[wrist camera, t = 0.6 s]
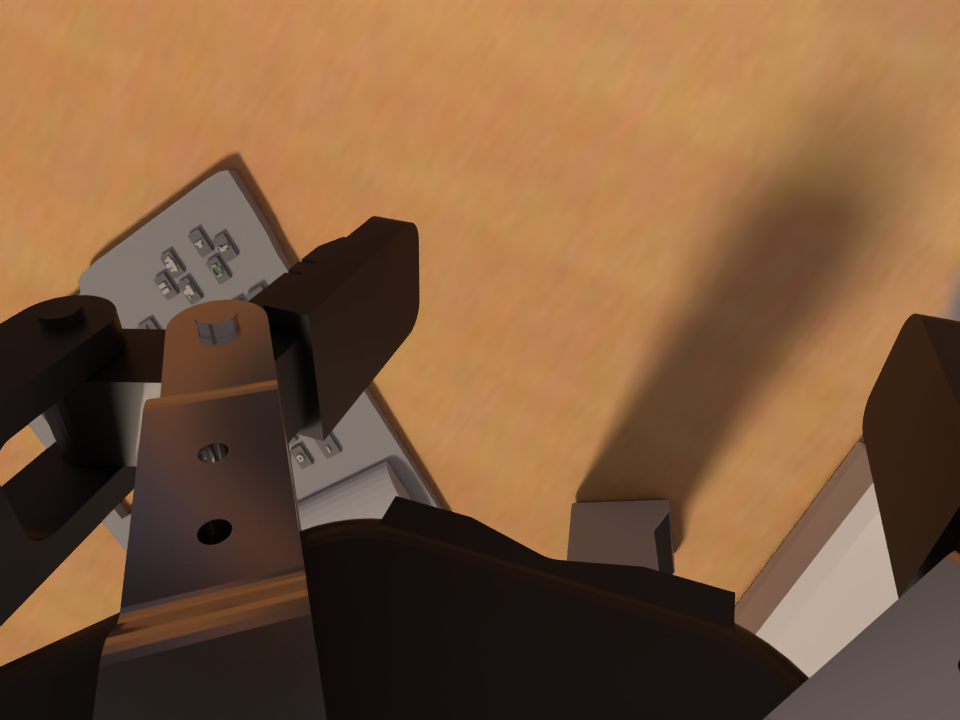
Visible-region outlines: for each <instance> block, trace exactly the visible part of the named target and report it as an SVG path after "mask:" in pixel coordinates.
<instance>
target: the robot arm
mask: <svg viewBox="0 0 960 720" xmlns="http://www.w3.org/2000/svg"><path fill="white" fill-rule="evenodd" d="M418 310H419V236H418V230H417V227H416V225H415V224H414V223H411V222H405V221H400V220H394V219H388V218H383V217H377V216H373V217H371V218H370V219H368V220H367V221H366V222H365V223H364V224H362V225H361V226H360V227H359V228H357V229H356V230H355V231H354V232H352V233H351V234H350V235H349V236H348V237H342V238H339V239H336V240H334V241H331V242H328V243H326V244H323V245H321V246H318V247H317V248H316V249H314V250H313V251H312V252H310V253H309V254H308V255H307V256H305V257H304V258H303V259H302V262H298V263H296V264H295V265H294V266H293V267H291V268H290V269H289V270H288V273H284V274H282V275H281V276H280V277H278V278H277V279H276V280H275V281H273V282H272V283H271V284H270V285H268V286H267V287H266V288H264V289H263V290H262V291H261V292H259V293H258V294H257V295H255V296H254V297H253V298H252V299H250V300H249V301H248V302H247V301H242V300H216V301H209V302H205V303H201V304H198V305H195V306H192V307H190V308H187V309H185V310H183V311H182V312H180V313H178V314H177V315H176V316H174V317H173V318H172V319H171V320H170V321H169V323H168V325H167V327H166V329H122V326H121V322H120V319H119V316H118V313H117V310H116V307H115V305H114V304H113V303H112V302H111V301H110V300H108V299H105V298H102V297H98V296H92V295H73V296H64V297H59V298H54V299H50V300H47V301H44V302H41V303H38V304H35V305H33V306H31V307H28V308H27V309H25V310H23V311H21V312H19V313H18V314H16V315H14V316H13V317H11V318H9V319H8V320H6V321H4V322H3V323H1V324H0V450H1V448H2V447H3V445H4V444H5V443H6V442H7V441H8V440H9V439H10V438H11V437H13V436H14V435H15V434H16V433H18V432H19V431H20V430H22V429H23V428H24V427H25V426H27V425H28V424H29V423H31V422H32V421H33V420H34V419H36V418H37V417H38V416H40V415H41V414H42V413H44V415H45V417H46V420H47V422H48V424H49V427H50V429H51V431H52V433H53V436H54V438H55V440H56V442H54V443H53V444H52V445H51V446H50V447H48V448H47V449H46V450H45V451H44V452H42V453H41V454H40V455H39V456H38V457H36V458H35V459H34V460H33V461H32V462H30V463H29V464H28V465H27V466H26V467H24V468H23V469H22V470H21V471H20V472H19V473H17V474H16V475H15V476H14V477H13V478H11V479H10V480H9V481H8V482H7V483H5V484H4V485H3V486H2V487H1V486H0V626H1V625H2V624H3V623H4V622H5V621H6V620H7V619H8V618H9V617H10V616H11V615H12V614H13V613H14V612H15V611H16V610H17V609H18V608H19V607H20V606H21V605H22V604H23V603H24V602H25V601H26V599H27V598H28V597H29V596H30V595H31V594H32V593H33V592H34V591H35V590H36V589H37V588H38V587H39V586H40V585H41V584H42V583H43V582H44V581H45V580H46V579H47V578H48V577H49V576H50V575H51V574H52V573H53V572H54V571H55V570H56V568H57V567H58V566H59V565H60V564H61V563H62V562H63V561H64V560H65V559H66V558H67V557H68V556H69V555H70V554H71V553H72V552H73V551H74V550H75V549H76V548H77V547H78V546H79V545H80V544H81V543H82V542H83V541H84V540H85V538H86V537H87V536H88V535H89V534H90V533H91V532H92V531H93V530H94V529H95V528H96V527H97V526H98V525H99V524H100V523H101V522H102V521H103V520H104V519H105V518H106V517H107V516H108V515H109V514H110V513H111V512H112V511H113V510H114V508H115V507H116V506H117V505H118V504H119V503H120V502H121V501H122V500H123V499H124V498H125V497H126V496H127V495H128V494H129V493H130V492H131V491H132V490H133V489H134V493H133V502H132V511H131V520H130V529H129V538H128V546H127V555H126V564H125V573H124V582H123V591H122V600H121V608H120V612H119V613H117V614H115V615H113V616H111V617H108V618H106V619H104V620H102V621H100V622H97V623H95V624H93V625H91V626H89V627H86V628H84V629H82V630H80V631H78V632H75V633H73V634H71V635H69V636H67V637H64V638H62V639H60V640H58V641H56V642H53V643H51V644H49V645H47V646H45V647H43V648H40V649H38V650H36V651H34V652H32V653H29V654H27V655H25V656H23V657H21V658H18V659H16V660H14V661H12V662H10V663H7V664H5V665H3V666H1V667H0V720H960V321H955V320H949V319H943V318H938V317H932V316H927V315H921V314H913V315H911V316H910V317H909V318H908V319H907V320H906V322H905V323H904V325H903V327H902V328H901V330H900V332H899V335H898V337H897V339H896V341H895V343H894V345H893V347H892V349H891V351H890V354H889V356H888V358H887V360H886V362H885V364H884V366H883V368H882V370H881V372H880V375H879V377H878V379H877V381H876V383H875V385H874V387H873V389H872V391H871V394H870V396H869V398H868V401H867V404H866V407H865V412H864V417H863V427H862V429H863V438H864V442H865V447H866V452H867V456H868V461H869V465H870V470H871V475H872V479H873V484H874V489H875V493H876V498H877V502H878V507H879V512H880V516H881V521H882V526H883V530H884V535H885V539H886V544H887V549H888V553H889V558H890V563H891V567H892V572H893V576H894V581H895V586H896V590H897V595H898V600H897V601H896V602H894V603H893V604H892V605H891V606H890V607H889V608H888V609H887V610H885V611H884V612H883V613H882V614H881V615H880V616H879V617H878V618H876V619H875V620H874V621H873V622H872V623H871V624H870V625H869V626H867V627H866V628H865V629H864V630H863V631H862V632H861V633H860V634H858V635H857V636H856V637H855V638H854V639H853V640H852V641H851V642H849V643H848V644H847V645H846V646H845V647H844V648H843V649H842V650H840V651H839V652H838V653H837V654H836V655H835V656H834V657H833V658H832V659H830V660H829V661H828V662H827V663H826V664H825V665H824V666H823V667H821V668H820V669H819V670H818V671H817V672H816V673H815V674H814V675H812V676H811V677H810V678H809V677H808V676H807V675H806V674H805V673H804V672H802V671H801V670H800V669H799V668H798V667H797V666H796V665H795V664H794V663H793V662H792V661H791V660H789V659H788V658H787V657H786V656H784V655H783V654H782V653H780V652H779V651H778V650H777V649H775V648H774V647H773V646H772V645H770V644H769V643H767V642H766V641H764V640H763V639H761V638H760V637H758V636H757V635H755V634H753V633H752V632H750V631H749V630H747V629H745V628H744V627H742V626H740V625H738V624H736V623H734V618H735V593H734V592H731V591H727V590H724V589H720V588H717V587H713V586H710V585H706V584H703V583H699V582H696V581H692V580H689V579H685V578H682V577H678V576H675V575H671V574H668V573H664V572H661V571H657V570H654V569H650V568H647V567H643V566H630V565H617V564H604V563H591V562H578V561H565V560H555V559H551V558H547V557H545V556H543V555H540V554H539V553H537V552H535V551H533V550H531V549H529V548H527V547H526V546H524V545H522V544H520V543H518V542H516V541H514V540H513V539H511V538H509V537H507V536H505V535H503V534H501V533H500V532H498V531H496V530H494V529H492V528H490V527H488V526H487V525H485V524H483V523H481V522H479V521H477V520H475V519H474V518H472V517H468V516H465V515H461V514H458V513H454V512H451V511H447V510H444V509H440V508H437V507H433V506H430V505H426V504H423V503H419V502H416V501H412V500H409V499H405V498H402V497H398V496H395V498H394V499H393V501H392V503H391V504H390V506H389V508H388V509H387V511H386V513H385V514H384V516H383V518H382V519H378V518H363V519H349V520H341V521H334V522H330V523H325V524H321V525H317V526H313V527H310V528H307V529H304V530H302V527H301V521H300V514H299V508H298V501H297V495H296V488H295V482H294V475H293V469H292V462H291V456H290V450H289V444H288V443H289V442H290V441H291V440H292V439H293V437H294V436H295V435H296V434H299V435H303V436H306V437H310V438H314V439H317V440H321V441H324V440H325V439H326V438H327V437H328V435H329V434H330V433H331V432H332V430H333V429H334V428H335V427H336V425H337V424H338V423H339V422H340V420H341V419H342V418H343V417H344V415H345V414H346V413H347V412H348V410H349V409H350V408H351V407H352V405H353V404H354V403H355V402H356V400H357V399H358V398H359V397H360V395H361V394H362V393H363V392H364V390H365V389H366V388H367V387H368V385H369V384H370V383H371V382H372V380H373V379H374V378H375V377H376V375H377V374H378V373H379V372H380V370H381V369H382V368H383V367H384V365H385V364H386V363H387V362H388V360H389V359H390V358H391V357H392V355H393V354H394V353H395V352H396V350H397V349H398V348H399V347H400V345H401V344H402V343H403V342H404V340H405V339H406V338H407V337H408V335H409V334H410V333H411V331H412V329H413V327H414V325H415V322H416V319H417V315H418Z"/></svg>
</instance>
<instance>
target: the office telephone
mask: <svg viewBox="0 0 960 720" xmlns="http://www.w3.org/2000/svg"><path fill="white" fill-rule="evenodd" d="M291 267H292V265H291V264H290V262H289V260H288V259H287V257H286V255H285V254H284V252H283V250H282V248H281V246H280V245H279V243H278V241H277V238H276V236H275V234H274V232H273V230H272V228H271V226H270V225H269V223H268V221H267V220H266V218H265V216H264V215H263V213H262V211H261V210H260V208H259V207H258V205H257V203H256V202H255V200H254V198H253V197H252V195H251V194H250V192H249V190H248V189H247V187H246V186H245V184H244V182H243V181H242V179H241V177H240V176H239V174H238V173H237V171H236V169H232V170H224V171H220V172H218V173H216V174H214V175H213V176H211V177H209V178H208V179H206V180H205V181H203V182H202V183H201V184H199V185H198V186H197V187H195V188H194V189H193V190H191V191H190V192H189V193H187V194H186V195H185V196H183V197H182V198H180V199H179V200H178V201H176V202H175V203H174V204H172V205H171V206H170V207H168V208H167V209H166V210H164V211H163V212H162V213H160V214H159V215H158V216H156V217H155V218H153V219H152V220H151V221H149V222H148V223H147V224H145V225H144V226H143V227H141V228H140V229H139V230H137V231H136V232H135V233H133V234H132V235H131V236H129V237H128V238H126V239H125V240H124V241H122V242H121V243H120V244H118V245H117V246H116V247H114V248H113V249H112V250H110V251H109V252H108V253H106V254H105V255H104V256H102V257H101V258H99V259H98V260H97V261H96V262H94V263H93V264H92V265H91V266H90V267H89V268H88V269H87V270H86V271H85V272H83V273H82V275H81V276H80V278H79V288H80V294H79V295H92V296H98V297H102V298H105V299H108V300H110V301H111V302H112V303H113V304H114V305H115V307H116V310H117V313H118V316H119V319H120V322H121V326H122V329H166V327H167V325H168V323H169V321H170V320H171V319H172V318H173V317H174V316H176V315H177V314H178V313H180V312H182V311H183V310H185V309H187V308H190V307H192V306H195V305H198V304H201V303H205V302H209V301H216V300H242V301H247V302H248V301H249V300H250V299H252V298H253V297H254V296H255V295H257V294H258V293H259V292H261V291H262V290H263V289H264V288H266V287H267V286H268V285H270V284H271V283H272V282H273V281H275V280H276V279H277V278H278V277H280V276H281V275H282V274H284V273H288V270H289V269H290V268H291ZM29 426H30V427H31V428H32V430H33V431H34V432H35V434H36V435H37V437H38V438H39V439H40V441H41V442H42V443H43V445H44V446H45V447H46V449H47V448H48V447H50V446H51V445H52V444H53V443H54V442H56V440H55V438H54V436H53V433H52V431H51V429H50V427H49V424H48V422H47V420H46V417H45V415H44V413H42V414H41V415H40V416H38V417H37V418H36V419H34V420H33V421H32V422H31V423H29ZM288 444H289V450H290V456H291V462H292V469H293V475H294V482H295V488H296V495H297V501H298V508H299V514H300V521H301V527H302V530H304V529H307V528H310V527H313V526H317V525H321V524H325V523H330V522H334V521H341V520H349V519H363V518H378V519H382V518H383V516H384V514H385V513H386V511H387V509H388V508H389V506H390V504H391V503H392V501H393V499H394V498H395V496H398V497H402V498H405V499H409V500H412V501H416V502H419V503H423V504H426V505H430V506H433V507H437V508H440V509H443V507H442V506H441V504H440V502H439V501H438V499H437V498H436V496H435V494H434V493H433V491H432V489H431V488H430V486H429V485H428V483H427V481H426V480H425V478H424V477H423V475H422V473H421V472H420V470H419V469H418V467H417V465H416V464H415V462H414V461H413V459H412V457H411V456H410V454H409V453H408V451H407V449H406V448H405V446H404V445H403V443H402V441H401V440H400V438H399V437H398V435H397V433H396V432H395V430H394V429H393V427H392V426H391V424H390V422H389V421H388V419H387V418H386V416H385V414H384V413H383V411H382V410H381V408H380V406H379V405H378V403H377V402H376V400H375V398H374V397H373V395H372V394H371V392H370V390H369V389H368V387H367V388H366V389H365V390H364V392H363V393H362V394H361V395H360V397H359V398H358V399H357V400H356V402H355V403H354V404H353V405H352V407H351V408H350V409H349V410H348V412H347V413H346V414H345V415H344V417H343V418H342V419H341V420H340V422H339V423H338V424H337V425H336V427H335V428H334V429H333V430H332V432H331V433H330V434H329V435H328V437H327V438H326V439H325V440H324V441H321V440H317V439H314V438H310V437H306V436H303V435H299V434H296V435H295V436H294V437H293V439H292V440H291V441H290V442H289V443H288ZM130 520H131V513H128V512H127V510H126V509H125V508H124V506H123V505H122V504H121V503H119V504H118V505H117V506H116V507H115V508H114V510H113V511H112V512H111V513H110V514H109V515H108V516H107V517H106V518H105V519H104V520H103V521H102V523H103V524H104V525H105V526H106V527H107V529H108V530H109V531H110V532H111V534H112V535H113V536H114V537H115V538H116V540H117V541H118V542H119V543H120V544H121V546H122V547H123V548H124V549H125V550H126V551H127V546H128V538H129V529H130Z"/></svg>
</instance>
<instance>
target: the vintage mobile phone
mask: <svg viewBox="0 0 960 720" xmlns="http://www.w3.org/2000/svg"><path fill="white" fill-rule="evenodd" d="M567 561H578V562H591V563H604V564H617V565H630V566H643V567H647V568H650V569H654V570H657V571H661V572H664V573H668V574H671V575H673V573H674V572H675V570H674V555H673V540H672V525H671V510H670V504H669V500H642V501H614V502H587V503H573V504H572V508H571V519H570V531H569V542H568V553H567Z"/></svg>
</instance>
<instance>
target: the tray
mask: <svg viewBox="0 0 960 720" xmlns="http://www.w3.org/2000/svg"><path fill="white" fill-rule="evenodd" d="M897 600H898V595H897V590H896V586H895V581H894V576H893V572H892V567H891V563H890V558H889V553H888V549H887V544H886V539H885V535H884V530H883V526H882V521H881V516H880V512H879V507H878V502H877V498H876V493H875V489H874V484H873V479H872V475H871V470H870V465H869V461H868V456H867V452H866V447H865V444H863V443H861V442H859V441H858V442H857V444H856V445H855V446H854V448H853V449H852V450H851V452H850V453H849V454H848V456H847V457H846V458H845V460H844V461H843V462H842V464H841V465H840V466H839V468H838V469H837V471H836V472H835V473H834V475H833V476H832V477H831V479H830V480H829V481H828V483H827V484H826V485H825V487H824V488H823V489H822V491H821V492H820V493H819V495H818V496H817V497H816V499H815V500H814V501H813V503H812V504H811V506H810V507H809V508H808V510H807V511H806V512H805V514H804V515H803V516H802V518H801V519H800V520H799V522H798V523H797V524H796V526H795V527H794V528H793V530H792V531H791V532H790V534H789V535H788V536H787V538H786V539H785V540H784V542H783V543H782V545H781V546H780V547H779V549H778V550H777V551H776V553H775V554H774V555H773V557H772V558H771V559H770V561H769V562H768V563H767V565H766V566H765V567H764V569H763V570H762V571H761V573H760V574H759V575H758V577H757V578H756V580H755V581H754V582H753V584H752V585H751V586H750V588H749V589H748V590H747V592H746V593H745V594H744V596H743V597H742V598H741V600H740V601H739V602H738V604H737V605H736V606H735V618H734V623H736V624H738V625H740V626H742V627H744V628H745V629H747V630H749V631H750V632H752V633H753V634H755V635H757V636H758V637H760V638H761V639H763V640H764V641H766V642H767V643H769V644H770V645H772V646H773V647H774V648H775V649H777V650H778V651H779V652H780V653H782V654H783V655H784V656H786V657H787V658H788V659H789V660H791V661H792V662H793V663H794V664H795V665H796V666H797V667H798V668H799V669H800V670H801V671H802V672H804V673H805V674H806V675H807V676H808V677H809V678H810V677H811V676H812V675H814V674H815V673H816V672H817V671H818V670H819V669H820V668H821V667H823V666H824V665H825V664H826V663H827V662H828V661H829V660H830V659H832V658H833V657H834V656H835V655H836V654H837V653H838V652H839V651H840V650H842V649H843V648H844V647H845V646H846V645H847V644H848V643H849V642H851V641H852V640H853V639H854V638H855V637H856V636H857V635H858V634H860V633H861V632H862V631H863V630H864V629H865V628H866V627H867V626H869V625H870V624H871V623H872V622H873V621H874V620H875V619H876V618H878V617H879V616H880V615H881V614H882V613H883V612H884V611H885V610H887V609H888V608H889V607H890V606H891V605H892V604H893V603H894V602H896V601H897Z"/></svg>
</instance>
